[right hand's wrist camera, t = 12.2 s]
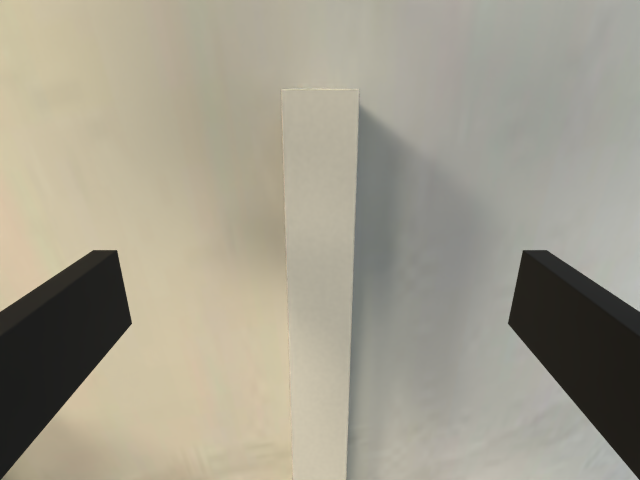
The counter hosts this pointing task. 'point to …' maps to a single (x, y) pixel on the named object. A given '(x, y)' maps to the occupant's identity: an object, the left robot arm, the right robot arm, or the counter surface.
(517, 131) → the counter surface
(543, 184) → the counter surface
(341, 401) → the beam
